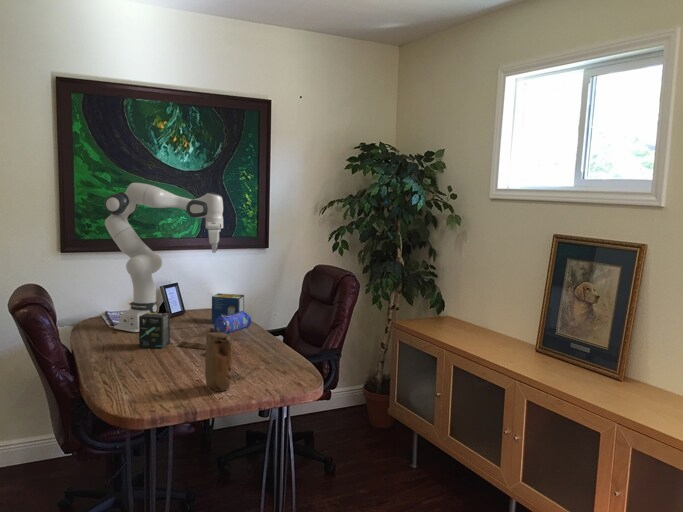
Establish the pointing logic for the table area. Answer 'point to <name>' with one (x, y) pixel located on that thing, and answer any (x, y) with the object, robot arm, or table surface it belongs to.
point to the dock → (191, 341)
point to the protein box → (226, 305)
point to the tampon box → (154, 330)
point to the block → (218, 361)
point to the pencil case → (232, 322)
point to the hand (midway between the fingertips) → (214, 251)
